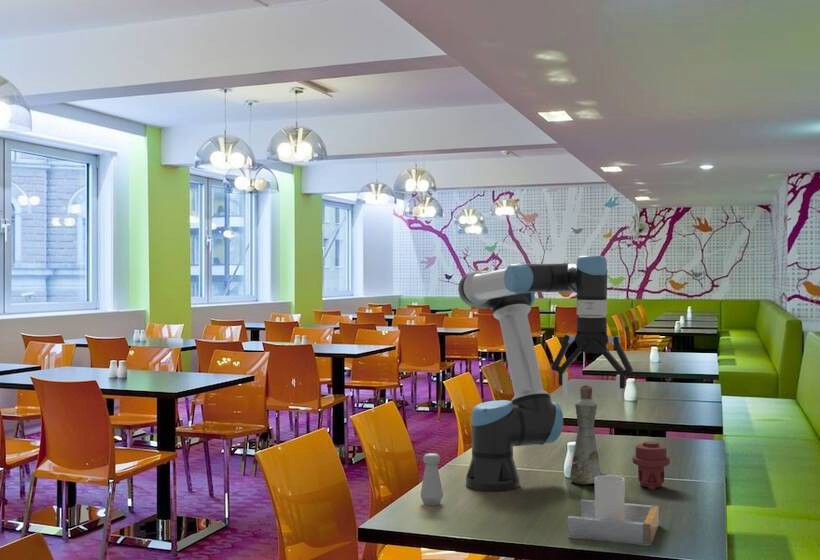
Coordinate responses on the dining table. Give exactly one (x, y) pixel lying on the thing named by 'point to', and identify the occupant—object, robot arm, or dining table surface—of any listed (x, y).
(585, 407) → the bottle
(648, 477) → the mechanical component
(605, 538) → the channel
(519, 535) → the dining table surface
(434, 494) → the salt shaker
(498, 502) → the dining table surface
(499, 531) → the dining table surface
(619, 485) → the mug
